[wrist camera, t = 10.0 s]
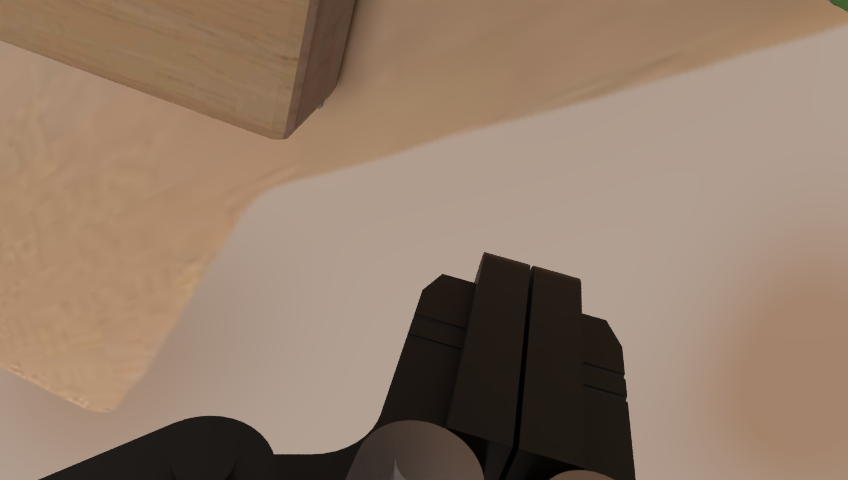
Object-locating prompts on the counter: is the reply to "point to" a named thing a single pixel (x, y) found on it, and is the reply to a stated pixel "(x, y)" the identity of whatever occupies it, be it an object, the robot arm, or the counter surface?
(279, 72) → the wooden block
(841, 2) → the wine bottle
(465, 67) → the counter surface
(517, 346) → the robot arm
